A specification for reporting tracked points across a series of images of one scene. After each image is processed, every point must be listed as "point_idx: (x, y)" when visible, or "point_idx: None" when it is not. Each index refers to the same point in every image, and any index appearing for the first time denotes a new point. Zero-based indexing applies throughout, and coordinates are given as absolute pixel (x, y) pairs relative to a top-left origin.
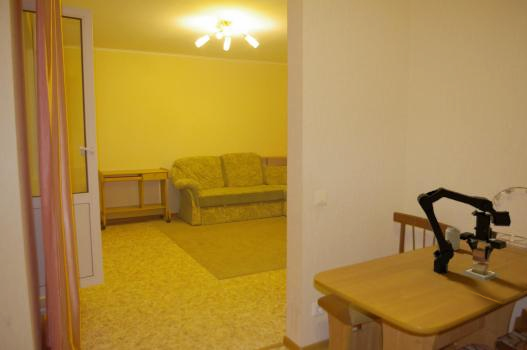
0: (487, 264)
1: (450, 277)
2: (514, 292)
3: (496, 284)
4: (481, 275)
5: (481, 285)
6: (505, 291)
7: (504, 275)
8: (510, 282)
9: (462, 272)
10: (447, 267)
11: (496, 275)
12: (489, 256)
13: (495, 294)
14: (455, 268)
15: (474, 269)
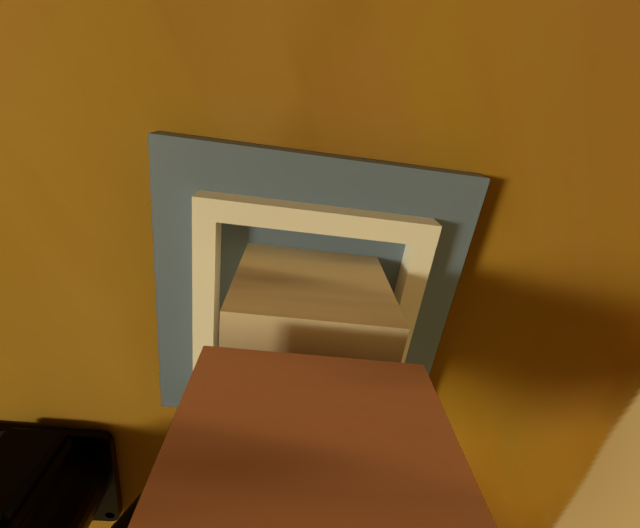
0: None
1: None
2: (623, 410)
3: (483, 369)
4: None
5: None
6: (563, 435)
7: (503, 66)
8: (584, 239)
9: (175, 393)
10: (51, 485)
11: (452, 224)
12: (455, 449)
13: (513, 508)
14: (28, 285)
15: None
